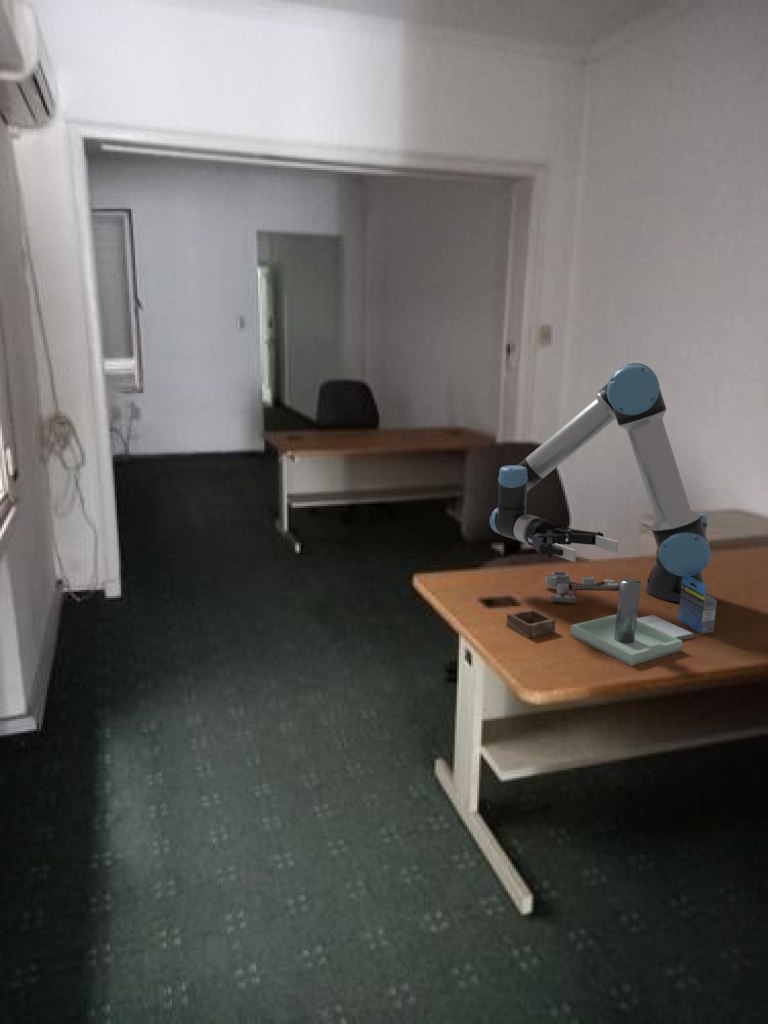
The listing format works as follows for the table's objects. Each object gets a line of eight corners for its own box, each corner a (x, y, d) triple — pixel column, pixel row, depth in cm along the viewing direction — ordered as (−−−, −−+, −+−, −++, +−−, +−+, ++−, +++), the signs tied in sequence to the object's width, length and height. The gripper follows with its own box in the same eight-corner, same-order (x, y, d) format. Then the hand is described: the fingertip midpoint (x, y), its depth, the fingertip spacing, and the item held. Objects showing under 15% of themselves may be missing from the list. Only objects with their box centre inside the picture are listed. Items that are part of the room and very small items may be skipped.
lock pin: (623, 634, 162) (629, 577, 159) (638, 641, 158) (644, 583, 155) (610, 637, 160) (615, 580, 157) (624, 645, 156) (630, 586, 153)
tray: (618, 622, 171) (619, 613, 170) (681, 651, 156) (682, 640, 155) (570, 635, 163) (570, 625, 163) (630, 666, 148) (631, 655, 147)
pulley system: (520, 595, 191) (565, 608, 180) (520, 578, 191) (566, 591, 179) (580, 579, 208) (625, 590, 197) (580, 563, 208) (626, 574, 196)
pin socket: (532, 620, 172) (533, 608, 171) (554, 631, 165) (555, 620, 164) (506, 626, 168) (507, 614, 167) (528, 638, 161) (529, 626, 160)
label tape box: (714, 633, 166) (721, 584, 163) (699, 634, 165) (706, 585, 162) (690, 619, 174) (696, 572, 171) (675, 620, 173) (681, 573, 170)
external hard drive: (667, 645, 160) (628, 625, 171) (693, 639, 163) (653, 620, 174) (668, 638, 160) (628, 618, 171) (694, 633, 163) (654, 614, 174)
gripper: (570, 538, 188) (632, 558, 170) (496, 552, 177) (554, 575, 158) (572, 511, 187) (634, 528, 168) (497, 523, 175) (556, 543, 157)
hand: (596, 551), depth 163 cm, fingers open, 13 cm apart
